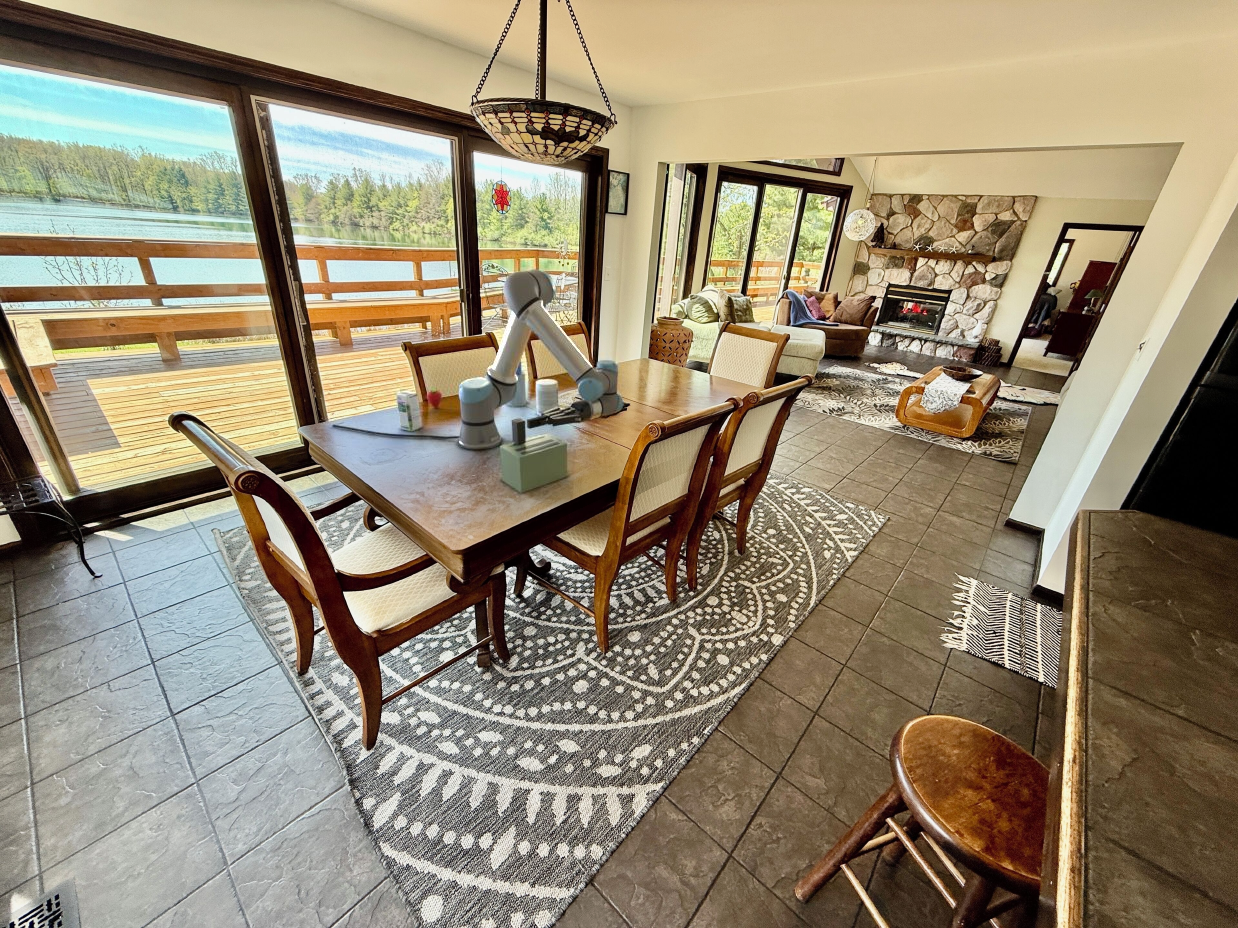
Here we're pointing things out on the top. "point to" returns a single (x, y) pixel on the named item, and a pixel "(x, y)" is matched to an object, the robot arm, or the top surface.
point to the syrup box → (408, 410)
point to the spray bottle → (519, 389)
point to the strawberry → (434, 397)
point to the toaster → (533, 462)
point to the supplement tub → (546, 395)
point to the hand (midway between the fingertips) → (528, 424)
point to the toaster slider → (518, 431)
